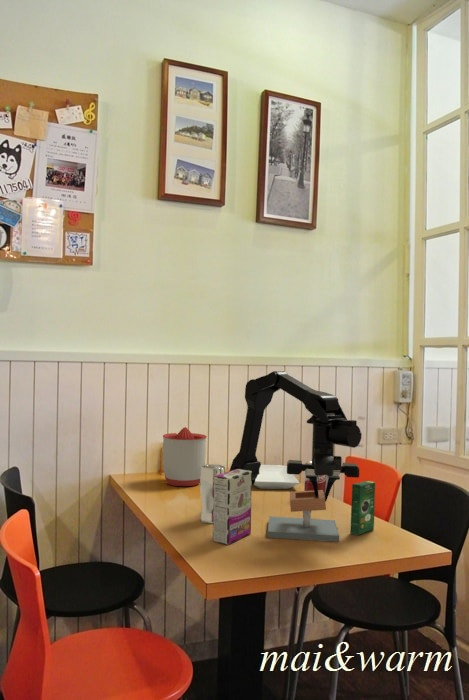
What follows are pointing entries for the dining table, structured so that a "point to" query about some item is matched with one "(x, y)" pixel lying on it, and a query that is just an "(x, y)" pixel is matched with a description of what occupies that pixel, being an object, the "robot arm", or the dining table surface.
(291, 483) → the tray
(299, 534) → the keeper plate
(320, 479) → the soda can
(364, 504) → the coffee box
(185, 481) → the citrus juicer
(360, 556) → the dining table surface
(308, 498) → the brown square frame
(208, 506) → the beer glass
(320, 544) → the dining table surface
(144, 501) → the dining table surface
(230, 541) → the candy bar box
